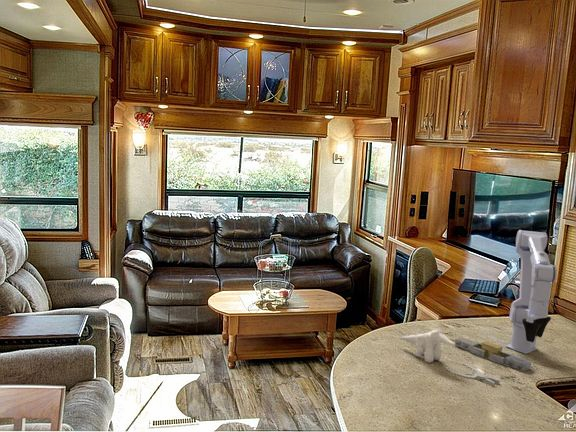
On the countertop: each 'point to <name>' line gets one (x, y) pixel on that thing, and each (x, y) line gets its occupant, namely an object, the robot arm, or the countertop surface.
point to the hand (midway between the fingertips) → (534, 338)
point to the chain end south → (470, 346)
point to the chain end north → (511, 361)
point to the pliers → (478, 376)
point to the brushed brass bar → (491, 349)
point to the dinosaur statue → (428, 344)
